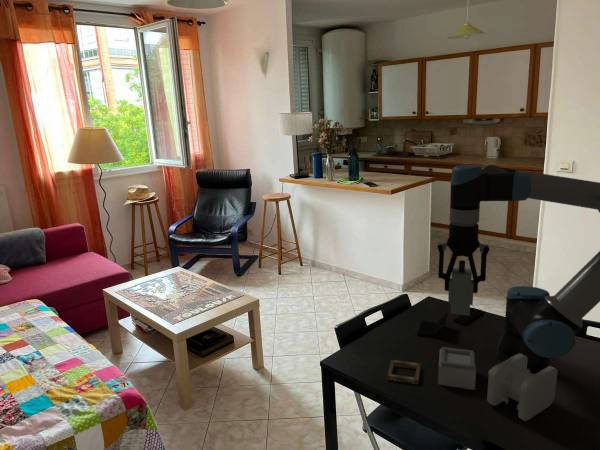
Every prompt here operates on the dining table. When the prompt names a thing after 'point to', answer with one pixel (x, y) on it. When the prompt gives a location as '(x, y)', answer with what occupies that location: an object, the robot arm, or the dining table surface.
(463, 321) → the remote control
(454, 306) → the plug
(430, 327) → the handheld gaming console
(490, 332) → the dining table surface
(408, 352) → the dining table surface
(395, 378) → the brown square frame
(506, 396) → the cable organizer
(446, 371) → the grey square recessed block
